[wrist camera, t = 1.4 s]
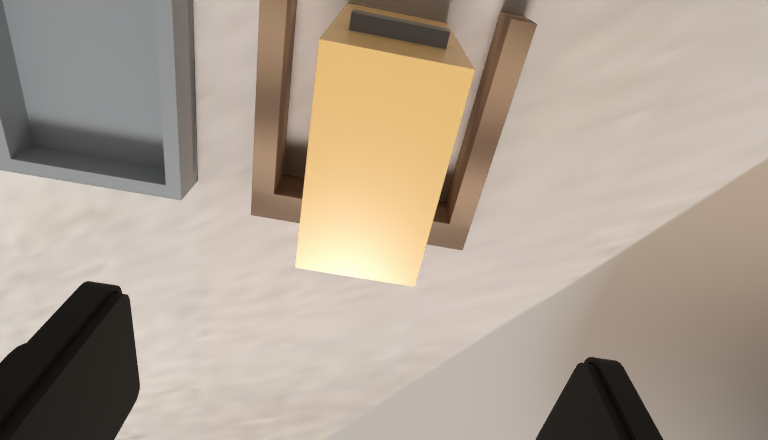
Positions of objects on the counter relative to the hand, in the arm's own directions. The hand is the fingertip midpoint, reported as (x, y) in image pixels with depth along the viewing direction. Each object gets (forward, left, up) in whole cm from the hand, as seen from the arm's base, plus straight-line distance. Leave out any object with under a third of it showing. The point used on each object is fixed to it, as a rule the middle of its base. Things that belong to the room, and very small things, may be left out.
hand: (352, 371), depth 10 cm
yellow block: (0, 0, -19) cm, 19 cm away
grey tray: (0, -15, -18) cm, 24 cm away
